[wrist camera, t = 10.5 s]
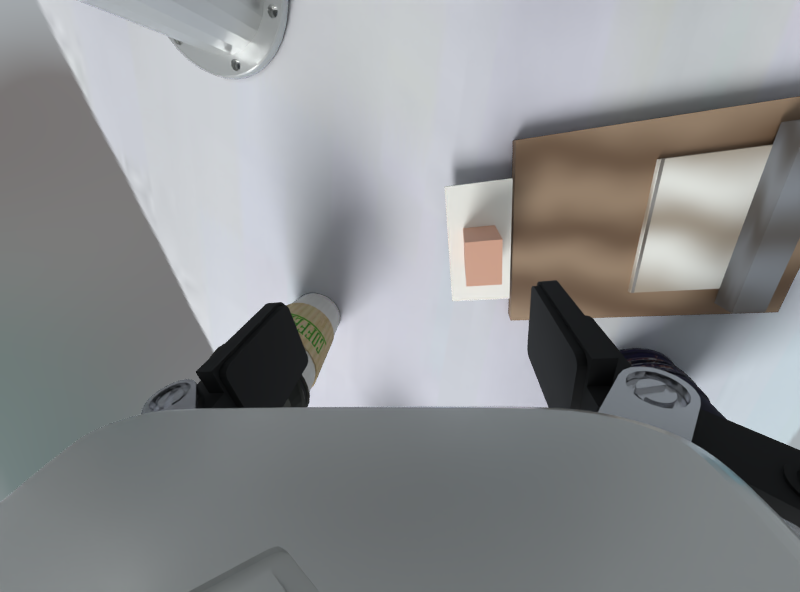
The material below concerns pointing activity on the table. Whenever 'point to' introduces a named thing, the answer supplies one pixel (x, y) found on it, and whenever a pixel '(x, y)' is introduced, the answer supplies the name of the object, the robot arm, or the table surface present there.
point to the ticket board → (661, 213)
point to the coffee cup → (311, 340)
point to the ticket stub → (479, 239)
